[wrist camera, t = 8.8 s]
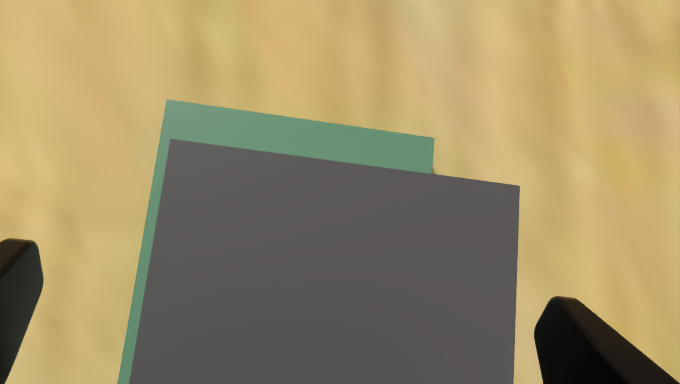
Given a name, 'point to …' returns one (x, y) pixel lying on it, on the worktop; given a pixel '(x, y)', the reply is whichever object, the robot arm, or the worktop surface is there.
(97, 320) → the worktop surface
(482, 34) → the worktop surface
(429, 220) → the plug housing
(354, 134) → the board
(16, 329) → the robot arm
